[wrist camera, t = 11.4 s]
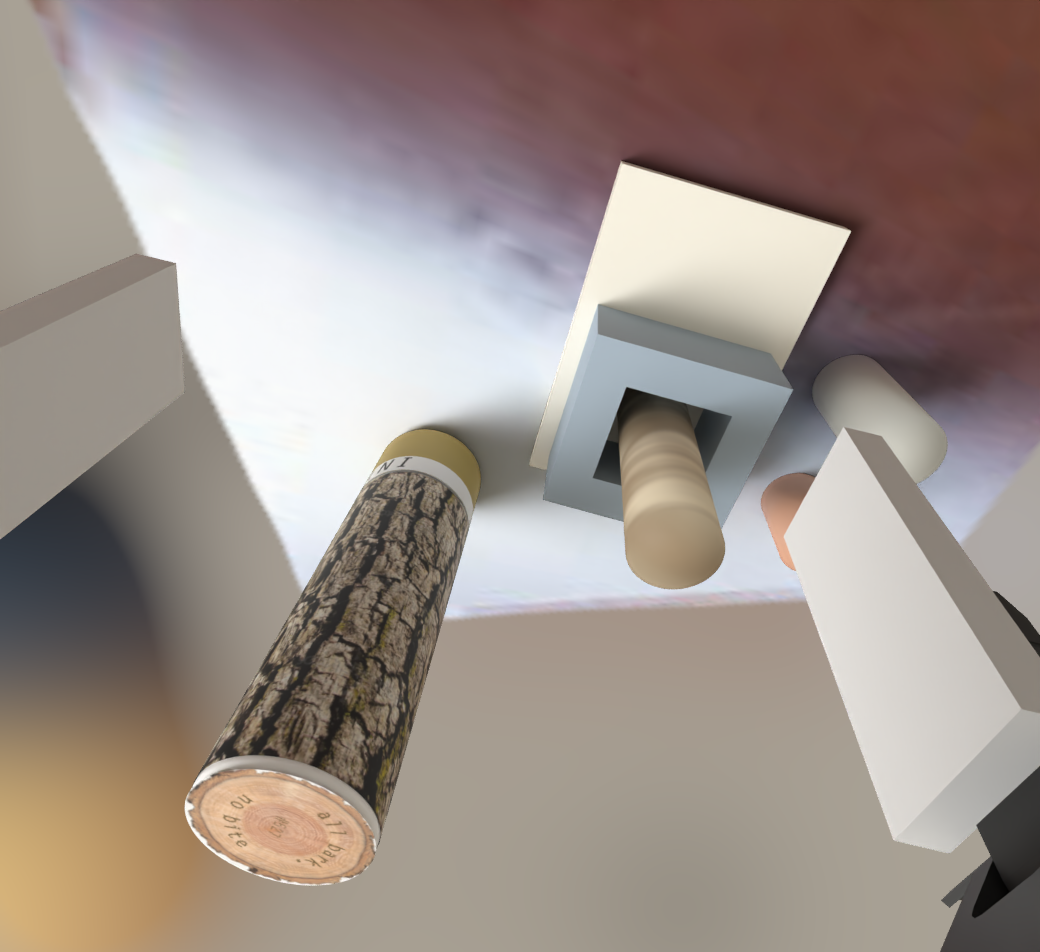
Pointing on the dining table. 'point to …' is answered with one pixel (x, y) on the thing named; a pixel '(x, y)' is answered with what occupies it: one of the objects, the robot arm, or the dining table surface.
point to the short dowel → (784, 508)
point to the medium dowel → (879, 412)
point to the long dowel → (665, 494)
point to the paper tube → (343, 679)
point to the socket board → (699, 270)
